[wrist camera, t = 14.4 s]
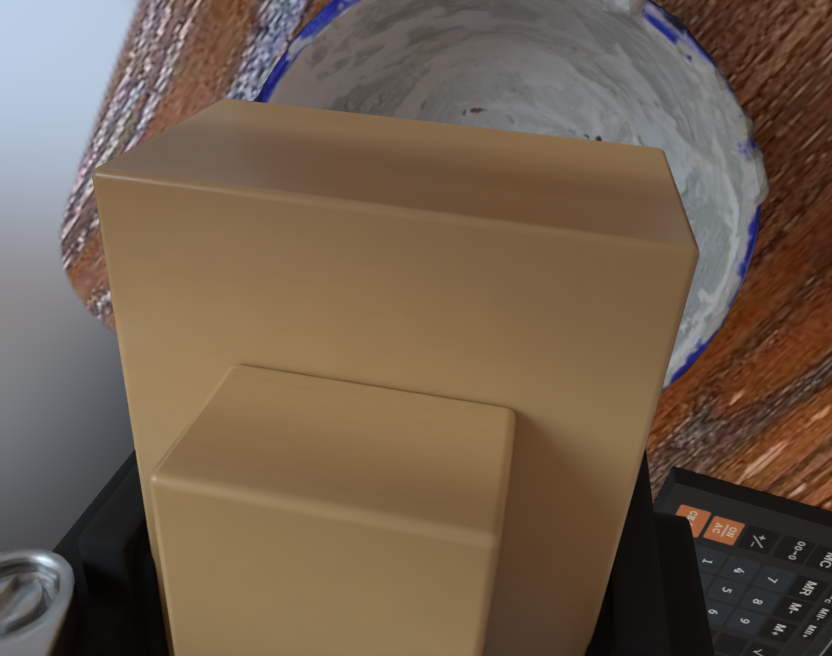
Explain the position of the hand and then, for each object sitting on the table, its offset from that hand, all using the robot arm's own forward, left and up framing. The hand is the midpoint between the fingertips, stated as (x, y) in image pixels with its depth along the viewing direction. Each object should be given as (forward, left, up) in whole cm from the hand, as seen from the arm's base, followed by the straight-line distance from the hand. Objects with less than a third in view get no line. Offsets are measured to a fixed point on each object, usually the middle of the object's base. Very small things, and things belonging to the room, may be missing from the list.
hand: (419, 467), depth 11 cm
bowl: (0, 0, -14) cm, 14 cm away
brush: (0, 0, 0) cm, 0 cm away
